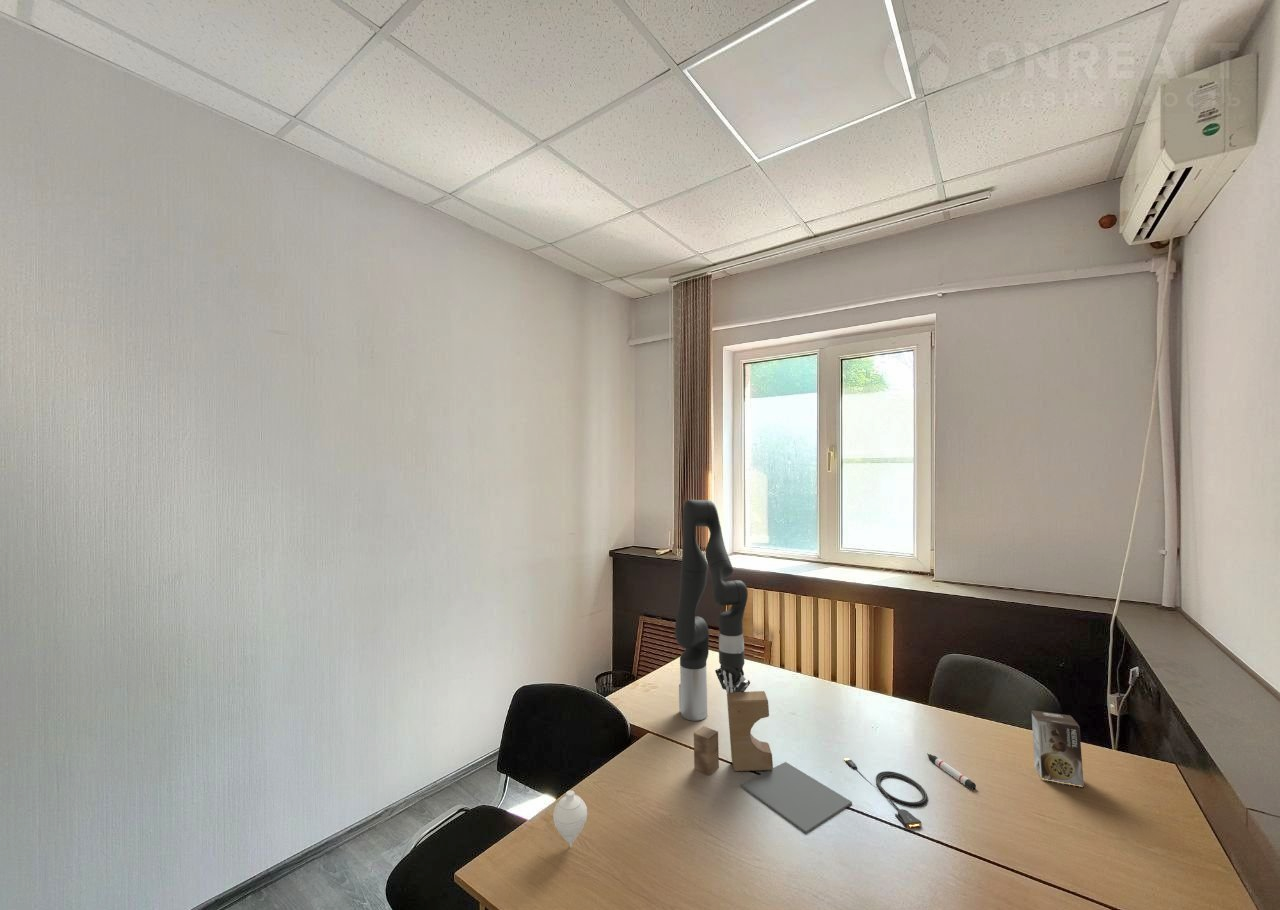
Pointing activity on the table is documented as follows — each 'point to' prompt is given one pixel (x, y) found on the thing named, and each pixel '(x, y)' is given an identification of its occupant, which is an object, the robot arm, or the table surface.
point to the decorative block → (748, 731)
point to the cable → (903, 815)
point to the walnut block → (706, 750)
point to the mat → (796, 796)
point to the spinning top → (570, 816)
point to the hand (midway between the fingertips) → (732, 706)
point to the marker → (952, 771)
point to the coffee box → (1057, 747)
